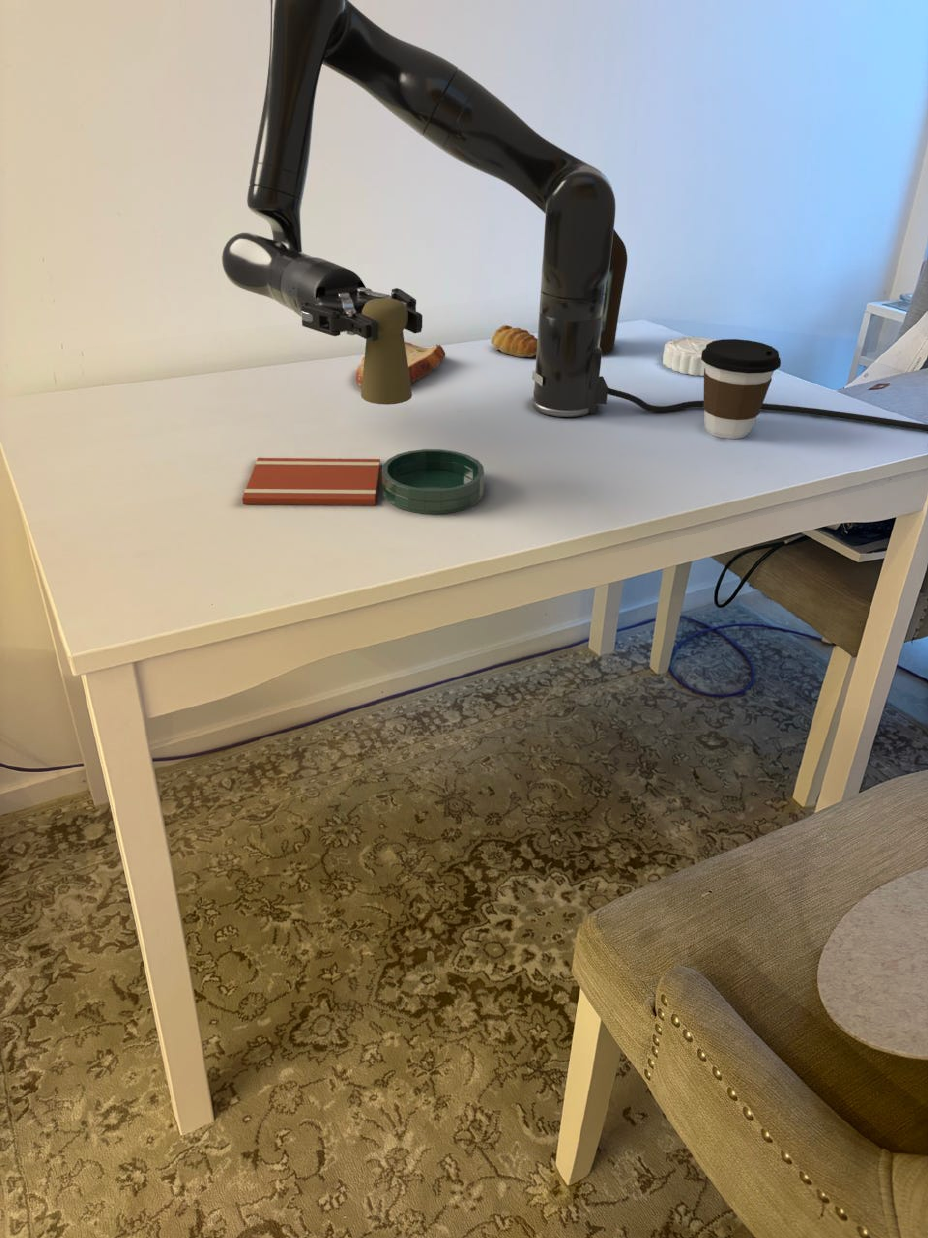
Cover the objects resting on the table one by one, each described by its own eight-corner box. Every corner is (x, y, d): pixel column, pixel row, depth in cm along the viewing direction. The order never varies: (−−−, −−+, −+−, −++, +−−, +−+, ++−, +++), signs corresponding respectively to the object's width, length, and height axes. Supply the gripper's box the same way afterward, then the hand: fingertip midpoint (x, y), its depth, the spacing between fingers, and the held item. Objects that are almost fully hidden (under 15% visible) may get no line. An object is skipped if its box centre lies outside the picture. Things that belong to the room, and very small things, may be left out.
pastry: (550, 354, 162) (552, 332, 160) (525, 362, 158) (526, 340, 156) (512, 341, 167) (513, 320, 165) (486, 349, 163) (487, 328, 161)
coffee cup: (770, 425, 136) (788, 344, 129) (757, 451, 127) (776, 366, 121) (697, 412, 139) (711, 333, 133) (680, 436, 131) (694, 353, 124)
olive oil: (565, 336, 171) (577, 191, 157) (621, 343, 168) (639, 195, 154) (552, 353, 162) (564, 200, 148) (611, 360, 160) (629, 205, 146)
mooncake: (739, 377, 153) (744, 356, 151) (668, 375, 153) (671, 354, 151) (723, 355, 163) (727, 335, 161) (657, 353, 163) (660, 333, 161)
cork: (361, 386, 110) (357, 292, 104) (411, 386, 111) (410, 293, 105) (360, 404, 105) (357, 307, 99) (412, 404, 106) (412, 307, 100)
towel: (380, 464, 121) (379, 458, 120) (375, 505, 111) (375, 498, 110) (258, 463, 120) (257, 456, 120) (242, 504, 110) (241, 497, 110)
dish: (480, 470, 120) (481, 449, 118) (485, 514, 109) (486, 491, 108) (384, 469, 119) (384, 448, 118) (380, 513, 109) (379, 490, 107)
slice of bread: (368, 397, 142) (367, 373, 139) (334, 362, 155) (333, 340, 153) (474, 383, 148) (474, 361, 146) (432, 351, 161) (432, 330, 159)
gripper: (267, 268, 107) (340, 302, 96) (371, 254, 114) (450, 284, 103) (272, 332, 111) (343, 372, 100) (373, 315, 118) (449, 350, 107)
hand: (397, 327), depth 102 cm, fingers closed on cork, 5 cm apart
